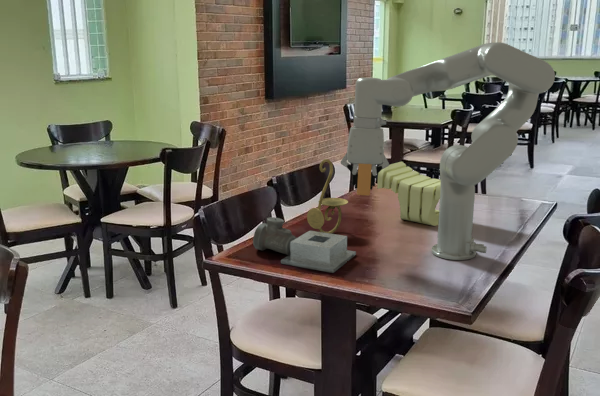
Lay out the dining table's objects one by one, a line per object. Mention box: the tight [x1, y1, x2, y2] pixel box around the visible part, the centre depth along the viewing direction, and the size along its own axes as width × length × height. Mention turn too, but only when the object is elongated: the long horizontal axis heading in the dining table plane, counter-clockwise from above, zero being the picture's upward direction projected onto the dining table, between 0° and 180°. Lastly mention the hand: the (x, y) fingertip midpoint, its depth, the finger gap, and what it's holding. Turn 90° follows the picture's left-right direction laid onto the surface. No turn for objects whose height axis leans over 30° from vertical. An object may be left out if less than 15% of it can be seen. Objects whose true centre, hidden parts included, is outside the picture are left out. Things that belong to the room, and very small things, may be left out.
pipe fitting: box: [252, 216, 297, 256], centre depth 170 cm, size 12×8×10 cm, turn 59°
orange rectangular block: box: [356, 164, 372, 196], centre depth 164 cm, size 4×4×10 cm
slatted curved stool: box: [377, 161, 441, 227], centre depth 202 cm, size 30×16×18 cm, turn 49°
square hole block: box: [280, 230, 357, 274], centre depth 165 cm, size 16×16×6 cm
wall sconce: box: [306, 158, 349, 234], centre depth 184 cm, size 14×10×25 cm
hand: (363, 187), depth 165 cm, fingers closed on orange rectangular block, 3 cm apart
